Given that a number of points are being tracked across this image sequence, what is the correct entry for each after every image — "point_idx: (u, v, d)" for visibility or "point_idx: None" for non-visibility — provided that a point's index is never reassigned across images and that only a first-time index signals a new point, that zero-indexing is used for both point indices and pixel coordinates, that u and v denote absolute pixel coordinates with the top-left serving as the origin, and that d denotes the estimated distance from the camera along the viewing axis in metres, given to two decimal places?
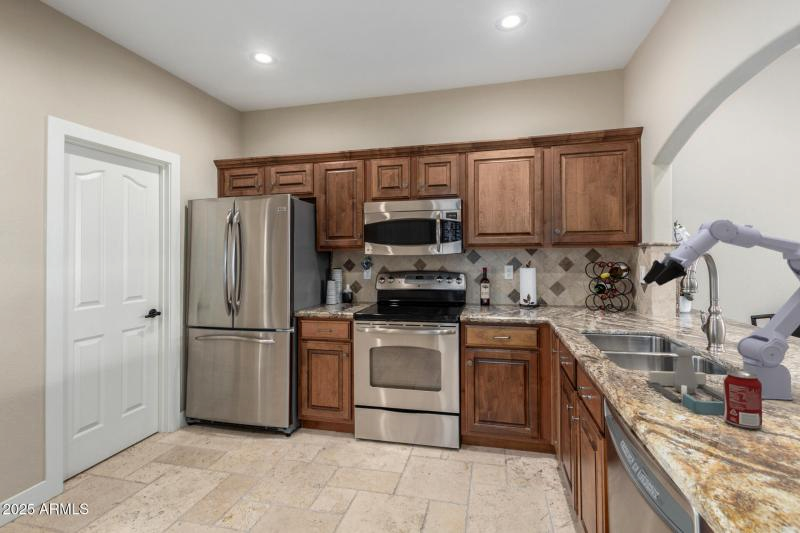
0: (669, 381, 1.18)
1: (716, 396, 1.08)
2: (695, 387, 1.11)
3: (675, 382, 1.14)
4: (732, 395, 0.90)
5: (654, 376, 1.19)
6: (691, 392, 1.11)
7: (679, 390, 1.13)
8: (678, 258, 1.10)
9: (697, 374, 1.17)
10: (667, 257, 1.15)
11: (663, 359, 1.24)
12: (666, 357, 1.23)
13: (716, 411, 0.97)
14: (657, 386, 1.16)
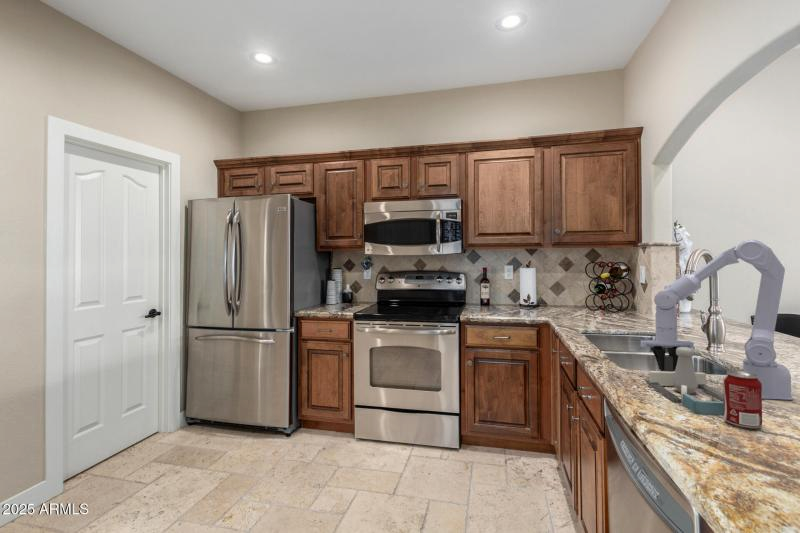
0: (669, 381, 1.18)
1: (716, 396, 1.08)
2: (695, 387, 1.11)
3: (675, 382, 1.14)
4: (732, 395, 0.90)
5: (654, 376, 1.19)
6: (691, 392, 1.11)
7: (679, 390, 1.13)
8: None
9: (697, 374, 1.17)
10: None
11: None
12: (666, 357, 1.23)
13: (716, 411, 0.97)
14: (657, 386, 1.16)
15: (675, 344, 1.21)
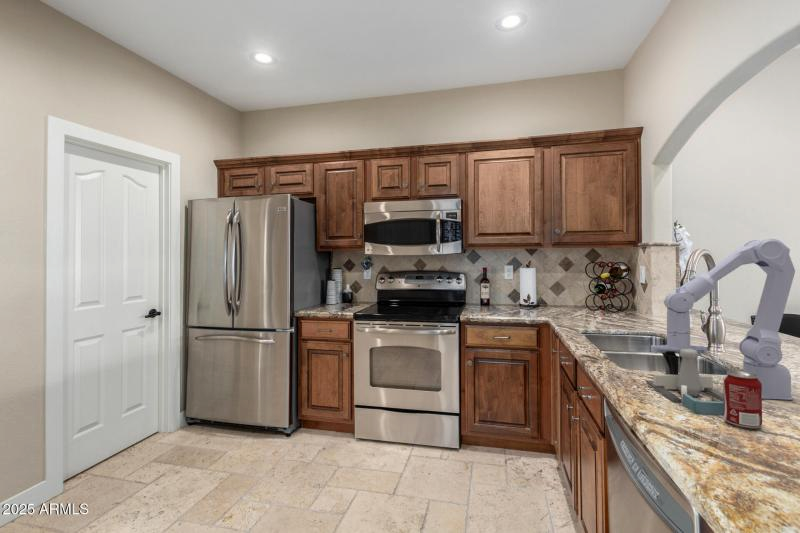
0: (674, 384, 1.15)
1: (716, 396, 1.08)
2: (699, 389, 1.09)
3: (679, 384, 1.12)
4: (732, 395, 0.90)
5: (659, 379, 1.16)
6: (695, 395, 1.09)
7: None
8: None
9: (703, 377, 1.13)
10: None
11: None
12: None
13: (716, 411, 0.97)
14: (657, 386, 1.16)
15: None
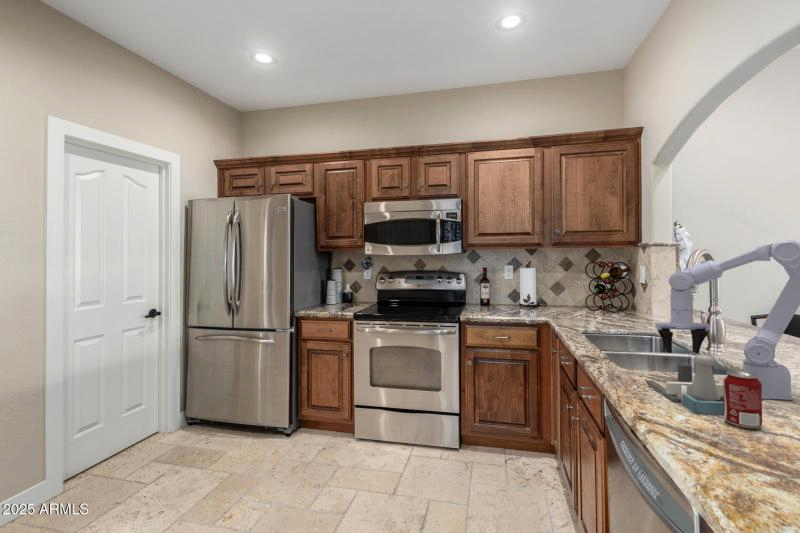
0: (688, 393, 1.07)
1: None
2: (716, 399, 1.01)
3: (693, 393, 1.04)
4: (732, 395, 0.90)
5: (671, 387, 1.08)
6: None
7: None
8: None
9: (719, 385, 1.06)
10: None
11: (681, 368, 1.13)
12: (684, 366, 1.13)
13: (716, 411, 0.97)
14: (657, 386, 1.16)
15: (691, 326, 1.19)
